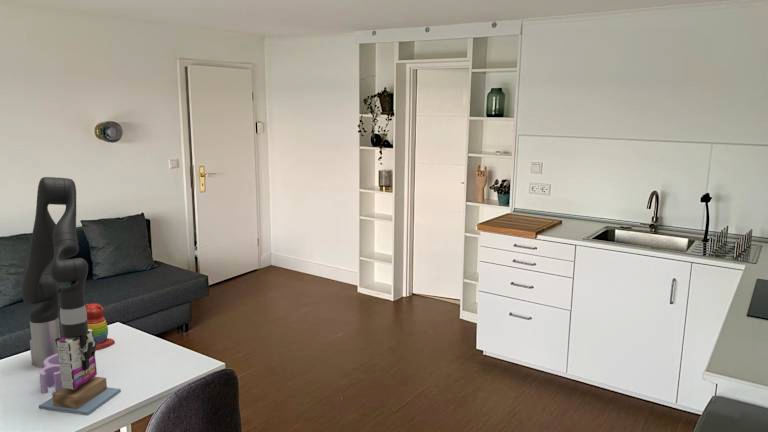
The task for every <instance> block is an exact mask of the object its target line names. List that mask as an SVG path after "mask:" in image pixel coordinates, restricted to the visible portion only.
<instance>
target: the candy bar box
mask: <svg viewBox="0 0 768 432" xmlns="http://www.w3.org/2000/svg"><path fill="white" fill-rule="evenodd" d="M87 336H88V339H89V340H92V341H93V330H92V329H88V332H87ZM79 347H80V340H79V337H64V338H62V339H60V340H58V341H57V348H58V357H59V365H60V375H61V384H62V388H64V389H72V390H75V389H76V388H78V387H79V386H81V385H82V384H84V383H85V382H87V381H88V380H90V379H91V378H93V377H94V376H95V377H97V374H98V373H97V363H96V355H95V356H93V357H91V358H90V359H89V365H90V367H89V368H88V369H87V370H86V371H83V370H82V358H81V354H80V353H79ZM84 349H85V347H84V348H82V349H81V350H84ZM84 355H85V352H84Z"/></svg>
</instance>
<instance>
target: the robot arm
mask: <svg viewBox="0 0 768 432" xmlns="http://www.w3.org/2000/svg"><path fill="white" fill-rule="evenodd" d="M75 183H76V182H75V181H74V180H73V179H71V178H68V177H55V176H43V177H41V178H40V180H39V182H38V186H37V194H36V195H37V196H36V207H35V209H36V210H35V219H34V223H33V229H32V234H31V238H30V246H29V254H28V260H27V265H26V270H25V272H24V276H23V280H22V283H21V291H20V293H21V294H20V295H21V298H22V301H23V302H24V303H25V304H26V305H36V304H39V306H37V307H36V308H34V310H31V312H30V313H29V316H28V317H29V318H28V319H29V326H30V327H29V328H30V334H31V339H30V340H29V348H30V358H31V365H34V366H35V367H37V368H44V360H45V359H46V358H48V357H50V356H52V355H55V354H58V348H57V341H58V340H60V339H62V338H64V337H79V340H80V347H79V353H80V354H81V358H82V370H83V371H86V370H87V369H88V368H89V367H90V365H89V359H90V358H91V357H93V356H95V357H96V351H97V350H96V343H97V341H96V340H93V341H92V340H89V339H88V336H87V332H88V324H87V312H86V307H85V305H86V302H85V301H86V299H85V286H86V280H87V277H88V273H89V263H88V262H87V261H86V260H85V259H84V258H82V257H77V258H76V257H75V258H72V257H74V256H76V255H77V254H78V253H79V251H80V247H79V240H78V234H77V233H78V232H77V186H76V184H75ZM50 205H59V206H60V205H61V206H65V210H64V211H63V214H62V216H61V217H60V218H59V220H58V221H57V222H55V221H54V219H53V217H52V215H51V213H50V211H49V209H48V207H49V206H50ZM49 266H50V272H49V273H50V275H49V274H47V275H43V274H44V272H45V271H46V270H47V268H48V267H49ZM66 282H67V283H68V282H74V284H72V285H70V286H67V287H65V288H63V289H61V290H60V291H59V287H58V283H66ZM59 306H60V307H59ZM59 309H60V311H59ZM59 318H60V322H59ZM59 323H60V324H59ZM60 327H61V328H60ZM60 329H61V332H60ZM84 347H85V349H84V350H81V349H82V348H84ZM84 352H85V355H84Z"/></svg>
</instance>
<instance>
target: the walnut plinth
mask: <svg viewBox="0 0 768 432" xmlns="http://www.w3.org/2000/svg"><path fill="white" fill-rule="evenodd" d="M107 386H108V385H107V378H106V377H104V376H103V377H102V376H94V377H93V378H91V379H90V380H88V381H87V382H85V383H84V384H82V385H81V386H79V387H78V388H76V389H75V390H72V389H64V388H61V389H60V390H58V391H56V392H55V391H54V392H53V393H51V394H52V395H51V398H53V406H59V407H66V408H74V409H78V408H80V407H81V406H83V405H84V404H86V403H87V402H89V401H90V400H92V399H93V398H94V397H96V396H97V395H99V394H100V393H102V392H103V391H105V390H106V389H107Z"/></svg>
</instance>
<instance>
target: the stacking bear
mask: <svg viewBox="0 0 768 432" xmlns="http://www.w3.org/2000/svg"><path fill="white" fill-rule="evenodd" d="M85 307H86V312H87V324H88V329H92V330H93V340H96V341H97V343H96V350H95V351H98V350H102V349H105V348H108V347H111V346H113V345H115V343H116V342H115V339H113V338H110V337H108V335H109V327H108V323H107V320H106V319H105V317H104V316H103V314H104V312H105V311H104V310H105V309H104V307H103V306H102V304H100V303H85Z"/></svg>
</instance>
